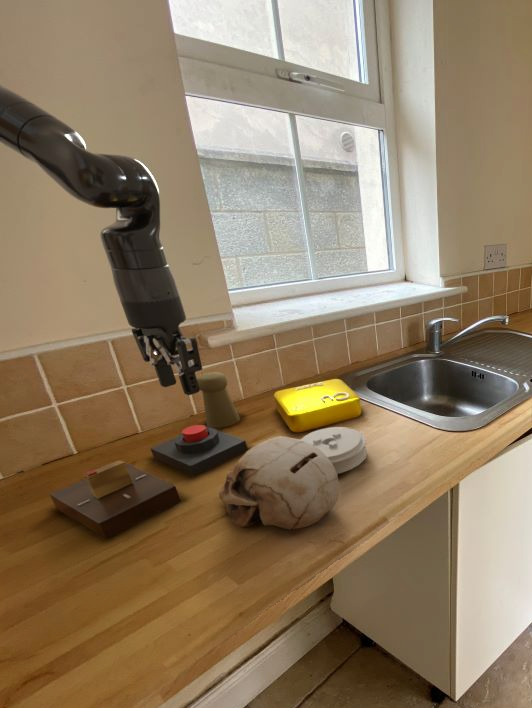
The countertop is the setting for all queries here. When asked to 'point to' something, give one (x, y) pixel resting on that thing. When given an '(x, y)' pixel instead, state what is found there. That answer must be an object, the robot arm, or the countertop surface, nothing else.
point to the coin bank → (280, 485)
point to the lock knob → (108, 479)
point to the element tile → (317, 405)
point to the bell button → (194, 433)
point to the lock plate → (116, 503)
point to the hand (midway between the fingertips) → (180, 388)
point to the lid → (339, 446)
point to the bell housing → (199, 451)
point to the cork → (217, 400)
